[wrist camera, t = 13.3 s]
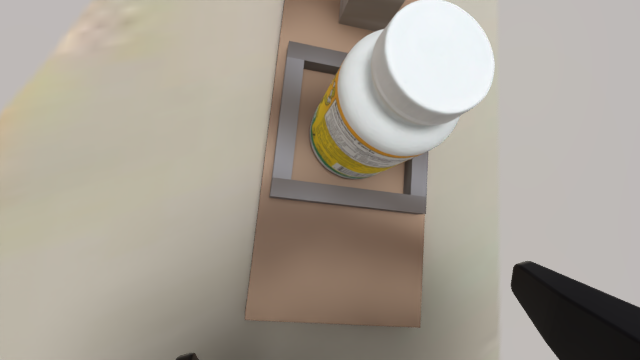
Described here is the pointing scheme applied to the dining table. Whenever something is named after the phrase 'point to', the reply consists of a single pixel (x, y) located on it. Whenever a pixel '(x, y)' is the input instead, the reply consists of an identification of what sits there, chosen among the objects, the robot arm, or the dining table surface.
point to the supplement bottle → (402, 90)
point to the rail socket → (332, 193)
